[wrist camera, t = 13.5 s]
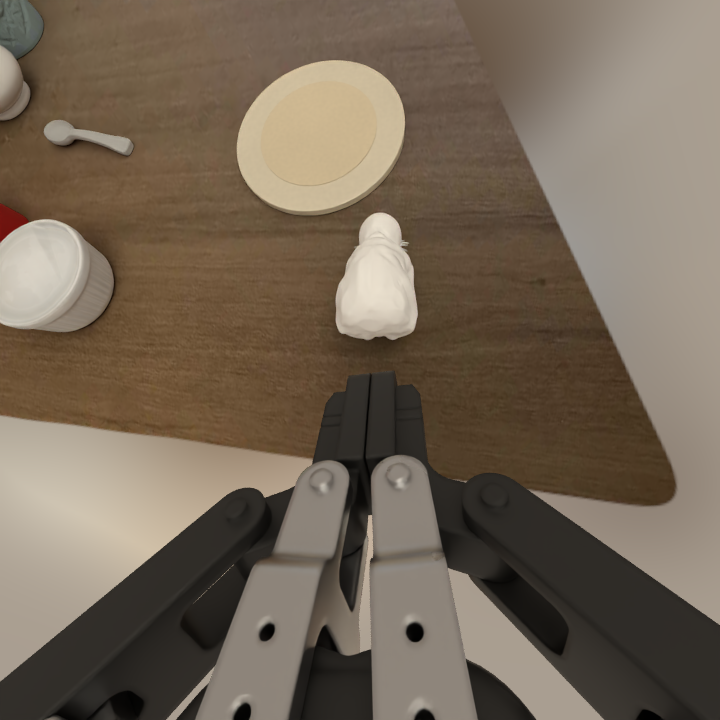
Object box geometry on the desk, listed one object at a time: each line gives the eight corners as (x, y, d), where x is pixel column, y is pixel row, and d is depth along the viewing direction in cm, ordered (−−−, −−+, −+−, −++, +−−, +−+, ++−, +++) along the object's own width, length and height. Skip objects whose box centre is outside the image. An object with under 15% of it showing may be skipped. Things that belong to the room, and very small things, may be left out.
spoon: (59, 125, 46) (44, 112, 44) (141, 144, 44) (129, 131, 42) (49, 146, 45) (33, 133, 43) (131, 166, 44) (119, 153, 42)
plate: (396, 50, 39) (395, 41, 38) (414, 198, 36) (414, 192, 35) (239, 88, 42) (235, 80, 41) (240, 229, 38) (236, 224, 37)
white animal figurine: (323, 321, 25) (331, 177, 29) (348, 357, 33) (352, 242, 37) (417, 316, 24) (413, 168, 28) (419, 355, 32) (416, 237, 36)
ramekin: (141, 260, 40) (100, 234, 35) (94, 355, 38) (43, 343, 33) (66, 233, 42) (17, 205, 37) (19, 321, 41) (-39, 305, 36)
